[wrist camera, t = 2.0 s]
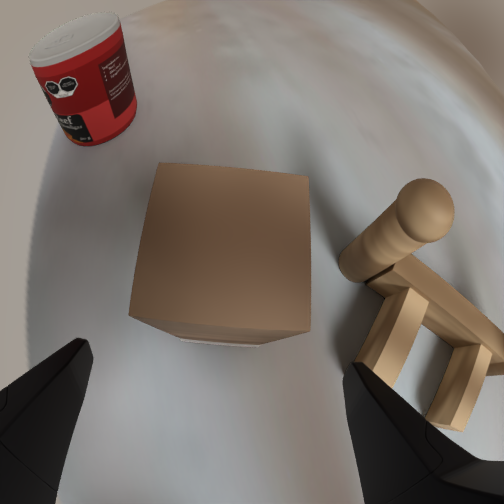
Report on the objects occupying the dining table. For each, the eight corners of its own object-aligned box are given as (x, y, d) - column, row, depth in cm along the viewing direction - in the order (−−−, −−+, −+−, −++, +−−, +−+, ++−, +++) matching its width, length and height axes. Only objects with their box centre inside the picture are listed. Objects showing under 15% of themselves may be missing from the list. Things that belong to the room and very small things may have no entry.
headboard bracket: (465, 440, 17) (551, 451, 7) (285, 341, 19) (355, 325, 9) (498, 352, 21) (579, 334, 10) (347, 235, 23) (423, 154, 13)
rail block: (254, 347, 19) (313, 335, 7) (184, 341, 19) (124, 318, 7) (258, 280, 21) (311, 174, 9) (191, 275, 20) (156, 160, 8)
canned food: (60, 121, 24) (25, 45, 14) (123, 86, 26) (105, 5, 16) (78, 162, 23) (31, 74, 12) (150, 120, 25) (132, 23, 15)
